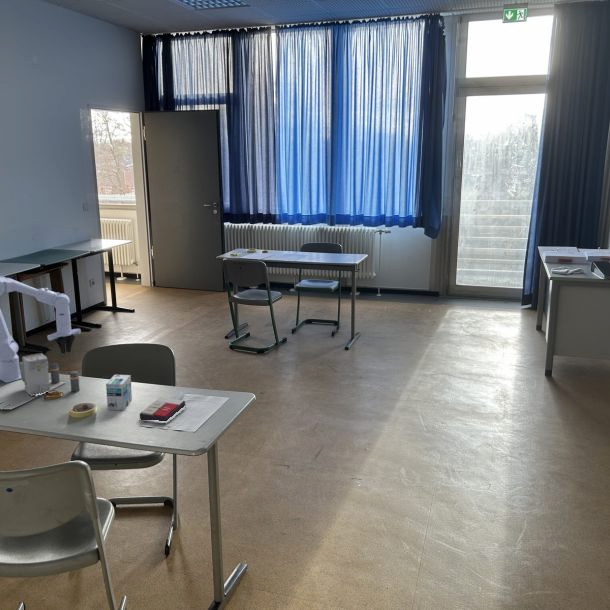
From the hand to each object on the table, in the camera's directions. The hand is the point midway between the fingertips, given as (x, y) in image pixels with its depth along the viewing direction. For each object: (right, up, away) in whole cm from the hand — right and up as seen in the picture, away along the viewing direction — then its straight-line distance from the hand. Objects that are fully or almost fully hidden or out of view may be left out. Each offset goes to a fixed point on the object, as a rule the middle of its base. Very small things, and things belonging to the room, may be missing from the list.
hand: (65, 352), depth 263 cm
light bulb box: (+32, -19, -28) cm, 47 cm away
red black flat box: (+51, -21, -35) cm, 65 cm away
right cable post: (+10, -15, -15) cm, 23 cm away
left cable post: (-2, -12, -6) cm, 14 cm away
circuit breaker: (-6, -14, -15) cm, 22 cm away
